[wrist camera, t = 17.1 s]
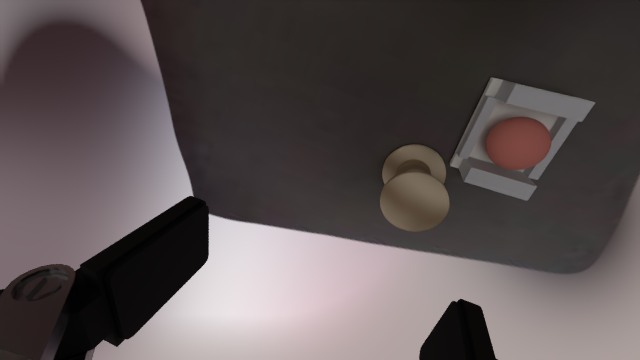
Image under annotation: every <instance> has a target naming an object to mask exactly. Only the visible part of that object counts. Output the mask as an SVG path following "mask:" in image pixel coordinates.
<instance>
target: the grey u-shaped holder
mask: <svg viewBox="0 0 640 360" xmlns="http://www.w3.org/2000/svg"><path fill="white" fill-rule="evenodd" d="M594 104H595V102H592V101H588V100H584V99H581V98H577V97H573V96H569V95H565V94H560V93H556V92H552V91H547V90H543V89H539V88H535V87H530V86H526V85H522V84H518V83H513V82H509V81H505V80H501V79H496V78H492V77H491V78H490V80H489V82H488V84H487V86H486V88H485V90H484V93H483V95H482V97H481V99H480V101H479V103H478V105H477V107H476V109H475V111H474V113H473V115H472V117H471V119H470V121H469V124H468V126H467V128H466V130H465V132H464V134H463V136H462V138H461V140H460V142H459V144H458V146H457V148H456V150H455V152H454V155H453V157H452V159H451V161H450V163H449V164H450V166H452V167H456V168H459V171H460V173H461V176H462V178H463V181H464V182H467V183H470V184H473V185H477V186H480V187H483V188H487V189H490V190H493V191H496V192H500V193H503V194H506V195H509V196H513V197H516V198H519V199H523V200H526V201H528V199H529V198H530V196H531V195H532V193H533V192H534V190H535V189H536V188H537V186H536V185H535V184H534V183H533V182H532V181H531V180H530V178H532V179H536V180H538V179H539V177H540V176H541V174H542V173H543V171H544V170H545V168H546V167H547V166H548V164H549V163H550V161H551V160H552V158H553V157H554V155H555V154H556V152H557V151H558V149H559V148H560V147H561V145H562V144H563V142H564V141H565V139H566V138H567V136H568V135H569V133H570V132H571V130H572V129H573V127H574V126H575V125H576V123H577V122H578V121H580V122H582V121H583V120H584V118H585V117H586V115H587V114H588V112H589V111H590V110H591V108H592V107H593V105H594ZM513 117H529V118H533V119H536V120H538V121H540V122H541V123H542V124H544V125H545V126H546V128H547V129H548V131H549V133H550V135H551V148H550V150H549V152H548V154H547V155H546V157H545V158H544V159H543V160H542V161H541V162H540V163H538V164H536V165H535V166H533V167H530V168H527V169H523V170H509V169H505V168H502V167H500V166H498V165H496V164H495V163H494V162H493V161H491V159H490V158H489V157H488V155H487V152H486V146H485V144H486V139H487V136H488V134H489V133H490V131H491V130H492V129H493V128H494V127H495V126H496V125H497V124H499V123H500V122H502V121H504V120H506V119H509V118H513Z"/></svg>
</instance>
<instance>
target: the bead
mask: <svg viewBox="0 0 640 360" xmlns="http://www.w3.org/2000/svg"><path fill="white" fill-rule="evenodd" d="M485 146H486V152H487V155H488V157H489V158H490V159H491V161H493V162H494V163H495V164H496V165H498V166H500V167H502V168H505V169H509V170H523V169H527V168H530V167H533V166H535V165H536V164H538V163H540V162H541V161H542V160H543V159H544V158H545V157H546V155H547V154H548V152H549V150H550V148H551V135H550V133H549V131H548V129H547V128H546V126H545V125H544V124H542V123H541V122H540V121H538V120H536V119H533V118H529V117H513V118H509V119H506V120H504V121H502V122H500V123H499V124H497V125H496V126H495V127H494V128H493V129H492V130H491V131H490V133H489V134H488V136H487V139H486V144H485Z"/></svg>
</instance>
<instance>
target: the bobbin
mask: <svg viewBox="0 0 640 360" xmlns="http://www.w3.org/2000/svg"><path fill="white" fill-rule="evenodd" d="M382 177H383V181H384V184H385V186H384V187H383V190H382V193H381V197H380V206H381V210H382V212H383V214H384V216H385V217H386V219H387V220H388V221H389V222H390V223H392V224H393V225H394V226H396V227H398V228H400V229H403V230H407V231H424V230H428V229H431V228H433V227H435V226H437V225H438V224H439V223H441V222H442V221H443V219H444V218H445V217H446V215H447V213H448V210H449V197H448V193H447V190H446V188H445V186H444V185H443V184H444V182H445V179H446V168H445V164H444V162H443V160H442V158H441V156H440V155H439V154H438V153H437V152H436V151H435V150H433V149H432V148H430V147H427V146H425V145H420V144H409V145H405V146H402V147H399V148H398V149H396V150H394V151H393V152H392V153H391V154H390V155H389V156H388V157H387V159H386V161H385V163H384V166H383V171H382Z"/></svg>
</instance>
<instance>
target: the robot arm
mask: <svg viewBox="0 0 640 360" xmlns="http://www.w3.org/2000/svg"><path fill="white" fill-rule="evenodd" d="M208 215H209V209H208V206H206V202H205V201H203V200H201V199H198V198H196V197H193V196H189V197H187V198H185V199H183V200H182V201H180V202H179V203H177V204H176V205H174V206H172V207H171V208H169V209H168V210H166V211H165V212H163V213H161V214H160V215H158V216H157V217H155V218H153V219H152V220H150V221H149V222H147V223H146V224H144V225H142V226H141V227H139V228H138V229H136V230H134V231H133V232H131V233H130V234H128V235H127V236H125V237H123V238H122V239H120V240H119V241H117V242H116V243H114V244H113V245H111V246H109V247H108V248H106V249H104V250H103V251H101V252H100V253H98V254H97V255H95V256H93V257H92V258H90V259H89V260H87V261H86V262H84V263H82V264H81V265H80V268H79V269H77V270H76V271H74V269H73V268H71V267H70V266H67V265H63V264H51V265H46V266H41V267H38V268H35V269H32V270H30V271H28V272H26V273H24V274H22V275H20V276H19V277H17V278H16V279H14V280H13V281H12V282H11V283H10V284H9V285H8V286H7V287H6V288H5V289H2V290H0V360H92V357H93V353H94V350H95V347H96V346H97V345H98V344H99V343H100V342H101V341H102V340H105V341H107V342H109V343H111V344H113V345H114V346H116V347H117V346H118V345H120V344H121V343H122V342H123V341H124V340H125V339H129V338H131V337H132V336H134V335H135V334H136V333H137V332H138V331H139V330H140V329H141V327H143V325H145V324H146V323H147V321H149V319H151V318H152V317H153V315H154V314H155V313H156V312H157V311H158V310H159V309H160V308H161V307H162V306H163V305H164V304H165V303H166V302H167V301H168V300H169V299H170V298H171V297H172V296H173V295H174V294H175V293H176V292H177V291H178V290H179V289H180V288H181V287H182V286H183V285H184V284H185V283H186V282H187V281H188V280H189V279H190V278H191V277H192V276H193V275H194V274H195V273H196V272H197V271H198V270H199V269H200V268H201V267H202V266H203V265H204V264H205V263H206V261H207V259H208V255H209V252H208V251H209V250H208V247H209V244H208V243H209V241H208V240H209V239H208V237H209V234H208V233H209V231H208V230H209V216H208ZM419 359H420V360H497V359H496V358H495V355H494V351H493V347H492V344H491V340H490V336H489V333H488V329H487V326H486V322H485V318H484V315H483V311H482V309H481V307H480V306H478V305H476V304H473V303H471V302H468V301H465V300H463V299H460V300H458V301H457V302H455V301H452V302H451V303H450V305H449V306H448V308H447V310H446V311H445V313H444V314H443V315H442V317H441V318H440V320H439V321H438V323H437V324H436V326H435V327H434V329H433V330H432V332H431V333H430V335H429V336H428V338H427V339H426V340H425V342H424V343H423V345H422V347H421V350H420V356H419Z"/></svg>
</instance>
